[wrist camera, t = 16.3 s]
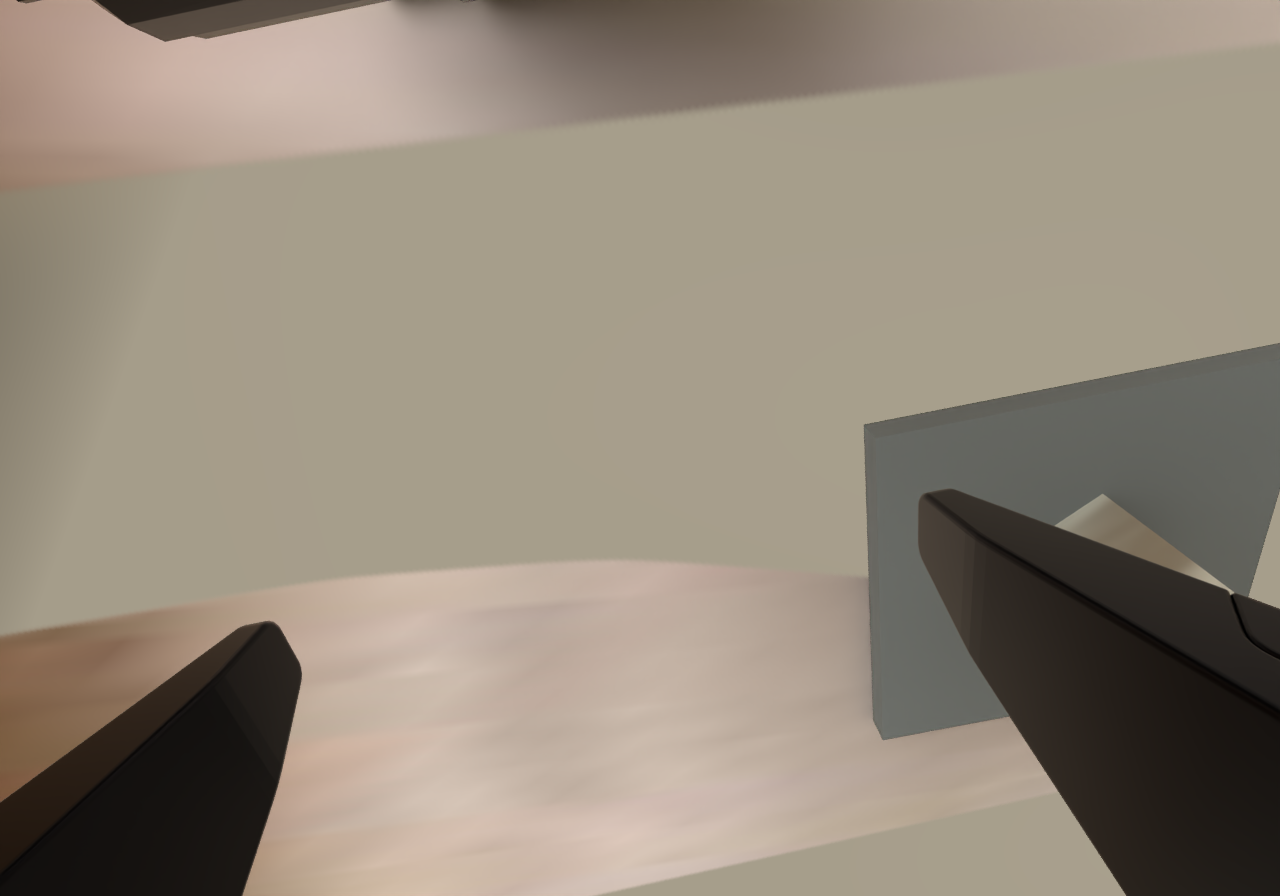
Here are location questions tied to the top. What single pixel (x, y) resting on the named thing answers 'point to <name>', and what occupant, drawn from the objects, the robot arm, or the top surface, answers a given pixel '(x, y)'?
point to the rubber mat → (1064, 499)
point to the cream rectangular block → (1130, 537)
